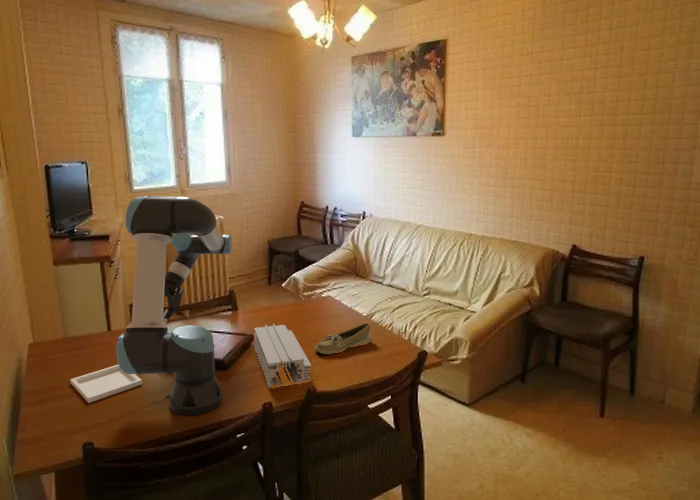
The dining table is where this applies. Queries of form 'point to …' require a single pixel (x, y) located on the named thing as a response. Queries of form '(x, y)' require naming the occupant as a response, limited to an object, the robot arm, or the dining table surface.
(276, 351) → the aluminum extrusion profile
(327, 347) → the boat shoe
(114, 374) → the tray
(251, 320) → the dining table surface
